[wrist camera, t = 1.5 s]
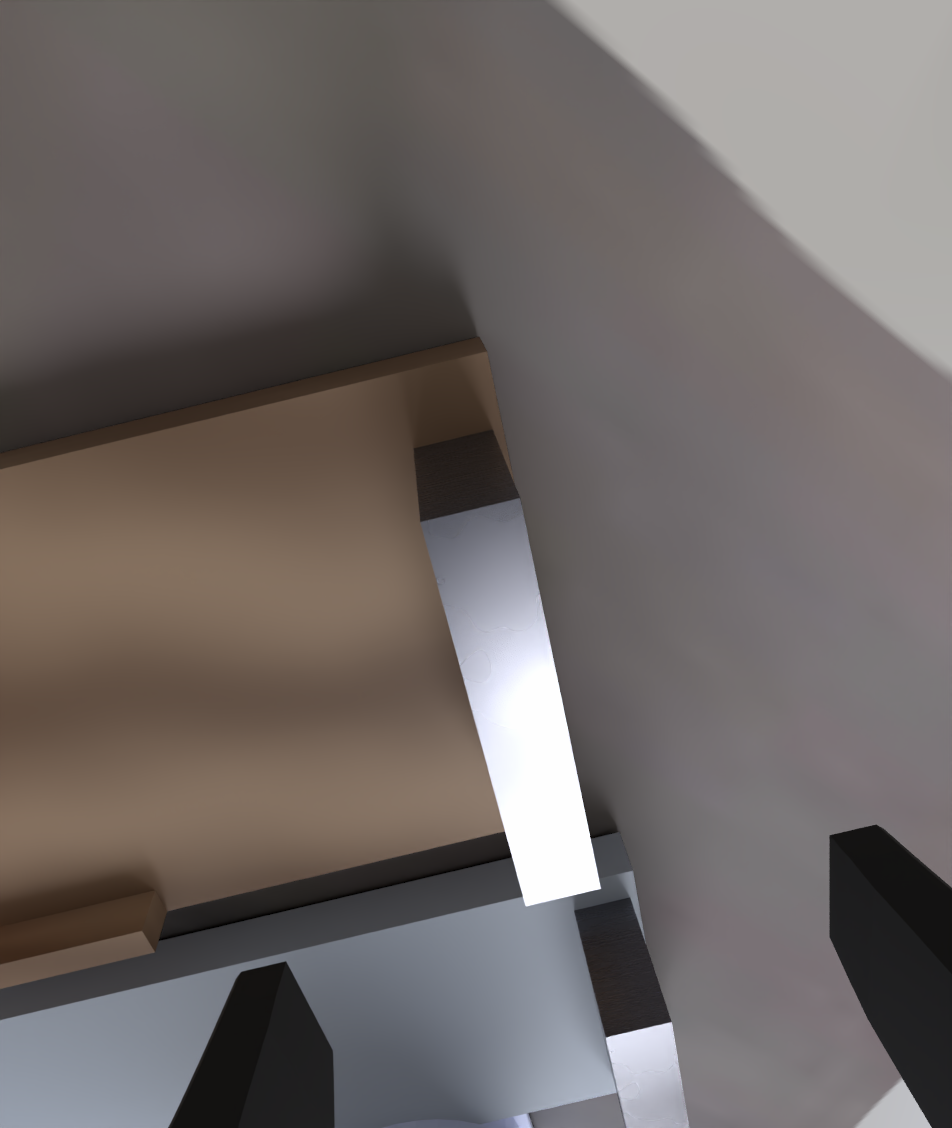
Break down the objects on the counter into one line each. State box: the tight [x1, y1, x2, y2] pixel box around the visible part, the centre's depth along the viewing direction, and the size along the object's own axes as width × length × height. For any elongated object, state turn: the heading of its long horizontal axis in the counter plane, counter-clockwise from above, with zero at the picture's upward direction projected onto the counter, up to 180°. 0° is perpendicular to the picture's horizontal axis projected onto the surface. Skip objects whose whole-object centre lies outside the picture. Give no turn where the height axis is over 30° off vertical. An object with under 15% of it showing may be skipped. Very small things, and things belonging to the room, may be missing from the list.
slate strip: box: [0, 832, 689, 1128], centre depth 23 cm, size 10×22×5 cm, turn 102°
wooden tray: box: [0, 337, 601, 989], centre depth 17 cm, size 12×22×5 cm, turn 102°
